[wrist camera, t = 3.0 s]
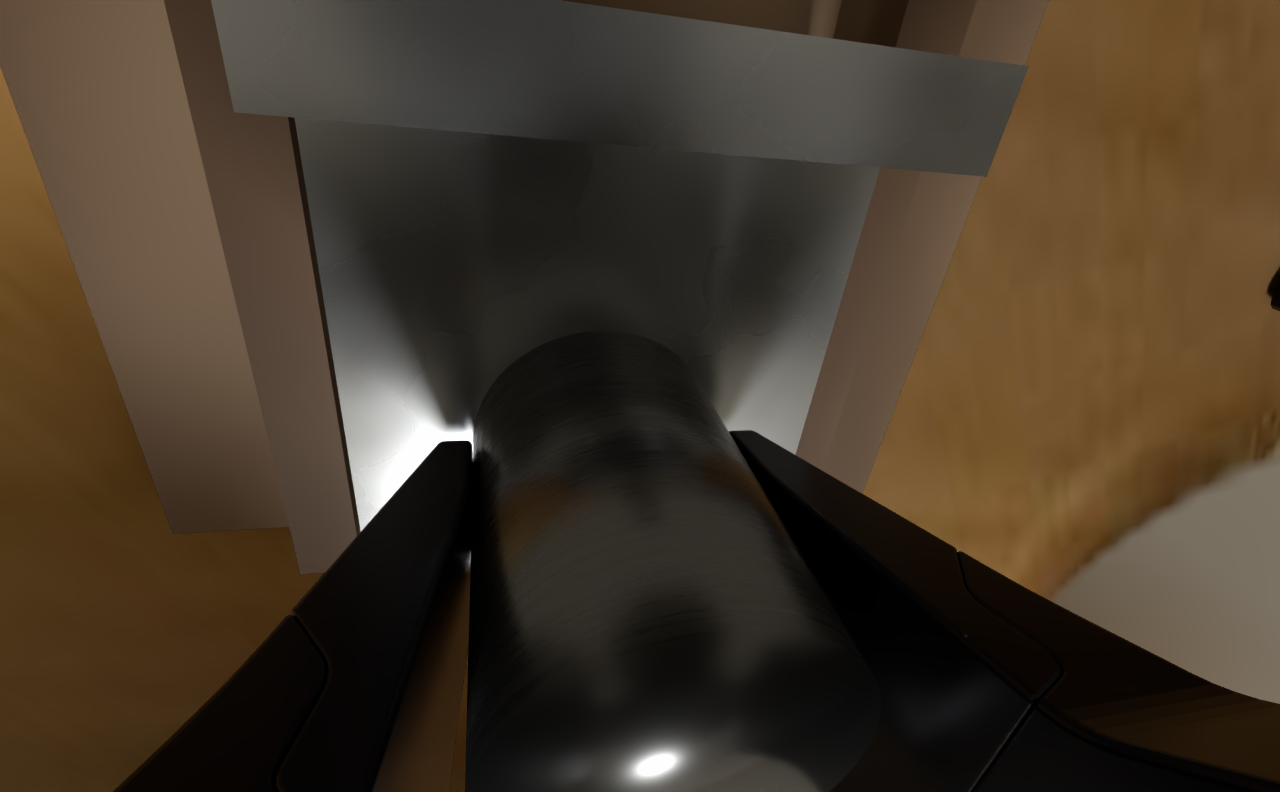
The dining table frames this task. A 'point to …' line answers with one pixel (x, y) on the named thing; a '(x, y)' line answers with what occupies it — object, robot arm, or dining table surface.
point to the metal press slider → (607, 345)
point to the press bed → (287, 263)
